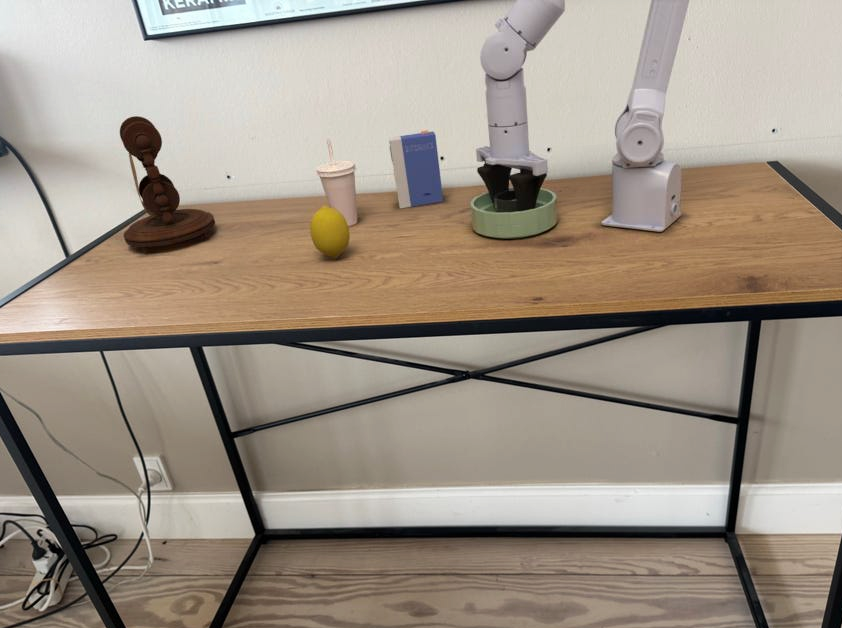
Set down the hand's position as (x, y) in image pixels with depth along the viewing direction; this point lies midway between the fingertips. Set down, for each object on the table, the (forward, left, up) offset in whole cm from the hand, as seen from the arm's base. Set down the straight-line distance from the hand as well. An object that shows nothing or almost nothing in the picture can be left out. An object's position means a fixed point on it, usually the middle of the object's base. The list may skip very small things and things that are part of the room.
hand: (513, 214), depth 107 cm
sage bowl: (0, 0, -2) cm, 2 cm away
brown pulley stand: (+53, +25, -2) cm, 59 cm away
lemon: (+18, +21, -2) cm, 28 cm away
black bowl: (0, 0, -1) cm, 1 cm away
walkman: (+22, -5, -2) cm, 23 cm away
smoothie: (+28, +8, -2) cm, 30 cm away
